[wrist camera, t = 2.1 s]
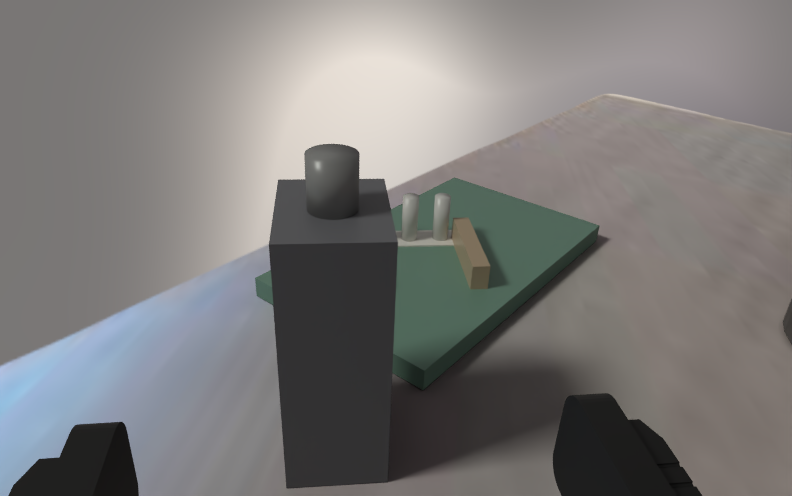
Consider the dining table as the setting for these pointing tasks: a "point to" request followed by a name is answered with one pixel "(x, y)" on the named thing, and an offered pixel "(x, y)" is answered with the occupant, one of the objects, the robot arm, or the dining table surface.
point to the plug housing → (334, 320)
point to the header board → (467, 269)
